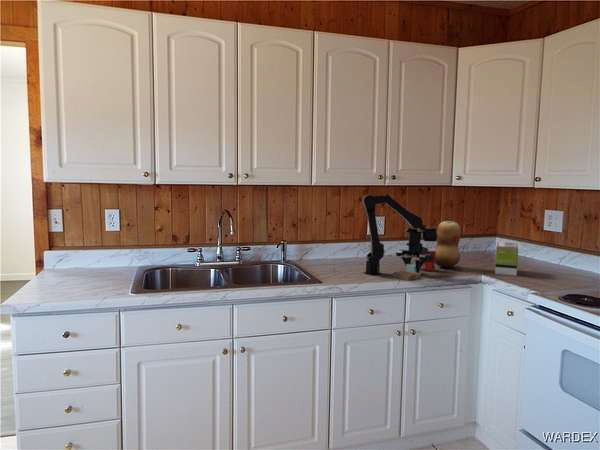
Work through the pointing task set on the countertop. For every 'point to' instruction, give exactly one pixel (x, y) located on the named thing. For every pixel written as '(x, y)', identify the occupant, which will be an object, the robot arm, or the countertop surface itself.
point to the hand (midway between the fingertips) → (413, 272)
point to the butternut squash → (447, 244)
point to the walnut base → (406, 275)
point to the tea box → (506, 258)
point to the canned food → (429, 264)
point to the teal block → (412, 268)
